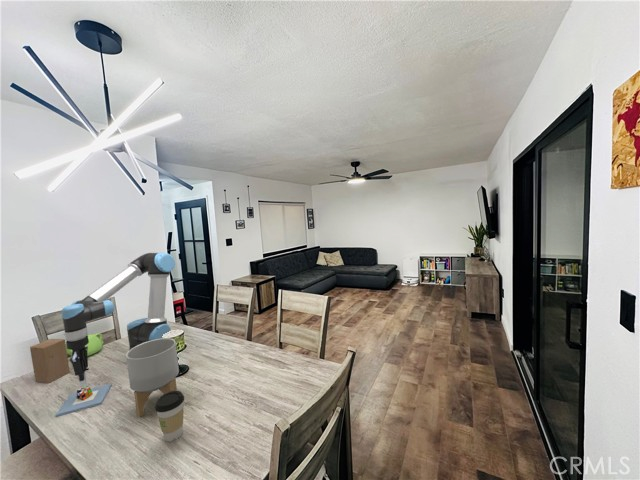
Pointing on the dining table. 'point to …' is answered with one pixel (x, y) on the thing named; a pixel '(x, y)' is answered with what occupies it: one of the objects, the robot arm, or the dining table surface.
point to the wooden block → (49, 360)
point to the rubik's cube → (84, 393)
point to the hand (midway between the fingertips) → (84, 385)
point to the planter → (152, 369)
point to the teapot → (91, 344)
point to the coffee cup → (170, 414)
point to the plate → (77, 404)
